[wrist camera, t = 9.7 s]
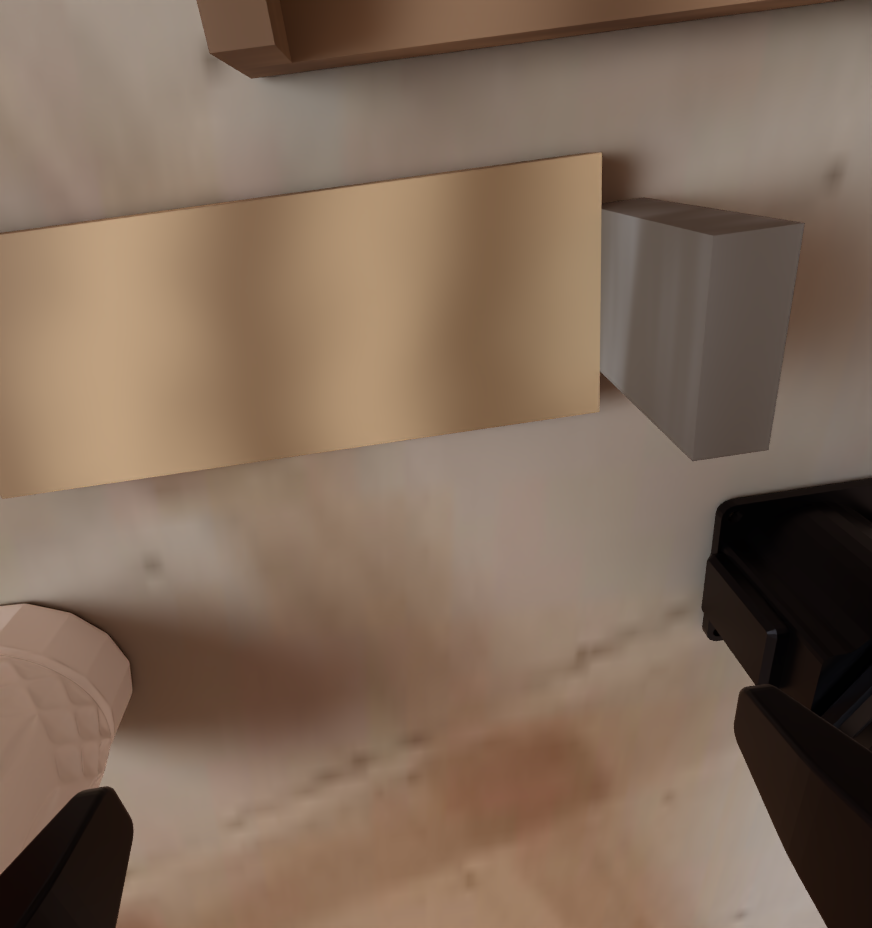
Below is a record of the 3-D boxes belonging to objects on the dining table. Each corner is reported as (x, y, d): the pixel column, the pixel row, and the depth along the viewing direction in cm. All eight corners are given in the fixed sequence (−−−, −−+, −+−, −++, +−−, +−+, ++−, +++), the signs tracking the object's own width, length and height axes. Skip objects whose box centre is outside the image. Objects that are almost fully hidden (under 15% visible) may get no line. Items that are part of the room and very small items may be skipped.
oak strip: (646, 144, 16) (818, 137, 10) (636, 390, 19) (759, 503, 13) (-97, 246, 15) (-415, 306, 9) (23, 479, 19) (-153, 639, 12)
